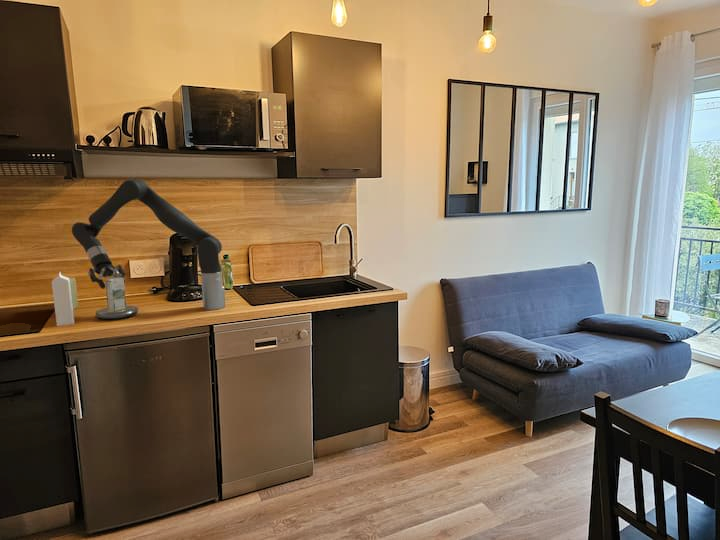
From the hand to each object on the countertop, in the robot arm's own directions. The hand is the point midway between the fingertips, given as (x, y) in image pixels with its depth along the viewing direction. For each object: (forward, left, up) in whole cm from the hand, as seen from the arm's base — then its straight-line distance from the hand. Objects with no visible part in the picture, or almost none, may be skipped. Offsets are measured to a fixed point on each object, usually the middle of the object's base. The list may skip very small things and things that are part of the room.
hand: (113, 286), depth 215 cm
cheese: (+12, -25, -14) cm, 31 cm away
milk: (+19, -6, -14) cm, 24 cm away
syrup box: (0, 0, -11) cm, 11 cm away
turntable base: (0, 0, -14) cm, 14 cm away
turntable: (0, 0, -13) cm, 13 cm away
